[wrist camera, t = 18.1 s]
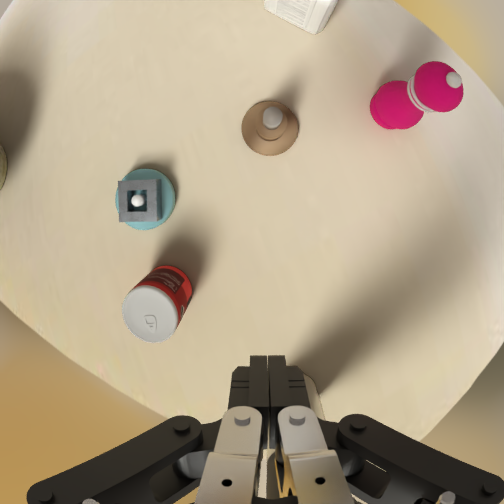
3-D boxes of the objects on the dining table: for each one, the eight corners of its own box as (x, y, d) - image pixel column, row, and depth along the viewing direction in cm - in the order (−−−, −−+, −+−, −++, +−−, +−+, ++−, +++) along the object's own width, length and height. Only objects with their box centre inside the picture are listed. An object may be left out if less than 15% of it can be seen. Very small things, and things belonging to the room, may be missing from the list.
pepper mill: (360, 92, 42) (418, 47, 23) (399, 85, 42) (468, 46, 22) (374, 136, 44) (444, 115, 24) (413, 128, 43) (491, 108, 24)
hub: (187, 197, 46) (180, 199, 42) (149, 239, 48) (139, 245, 44) (146, 156, 45) (135, 155, 41) (110, 200, 47) (97, 202, 42)
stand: (308, 129, 44) (322, 117, 34) (269, 167, 45) (273, 163, 36) (269, 92, 43) (272, 71, 33) (230, 129, 44) (223, 116, 34)
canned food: (161, 317, 51) (140, 350, 40) (138, 274, 49) (110, 298, 39) (202, 301, 50) (188, 333, 39) (179, 256, 48) (158, 277, 38)
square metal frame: (161, 179, 44) (156, 179, 41) (162, 219, 45) (157, 221, 43) (124, 180, 44) (118, 181, 42) (125, 219, 45) (119, 221, 43)
